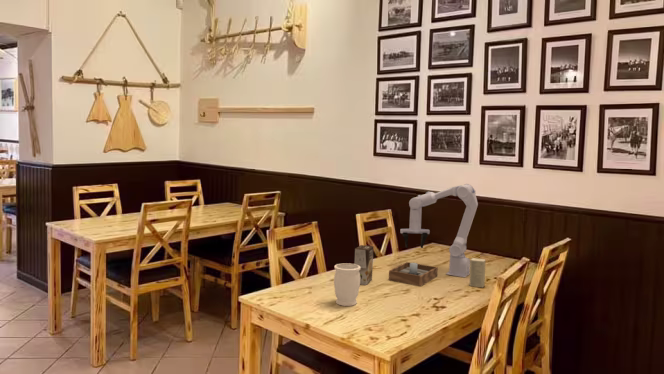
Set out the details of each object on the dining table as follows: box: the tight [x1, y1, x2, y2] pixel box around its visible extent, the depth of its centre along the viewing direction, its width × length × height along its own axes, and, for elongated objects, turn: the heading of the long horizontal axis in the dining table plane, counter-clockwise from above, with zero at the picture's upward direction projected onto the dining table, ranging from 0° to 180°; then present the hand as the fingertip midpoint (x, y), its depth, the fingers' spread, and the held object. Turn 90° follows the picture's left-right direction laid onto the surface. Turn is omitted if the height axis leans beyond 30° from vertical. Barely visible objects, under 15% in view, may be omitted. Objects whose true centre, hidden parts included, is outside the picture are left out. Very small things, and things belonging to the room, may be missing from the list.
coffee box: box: [353, 244, 374, 286], centre depth 242 cm, size 9×6×16 cm
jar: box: [333, 262, 361, 307], centre depth 212 cm, size 11×10×15 cm
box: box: [388, 261, 439, 287], centre depth 251 cm, size 20×16×4 cm
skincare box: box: [469, 257, 486, 288], centre depth 242 cm, size 6×4×12 cm
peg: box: [409, 262, 419, 275], centre depth 251 cm, size 4×4×7 cm
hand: (414, 247), depth 270 cm, fingers open, 7 cm apart
